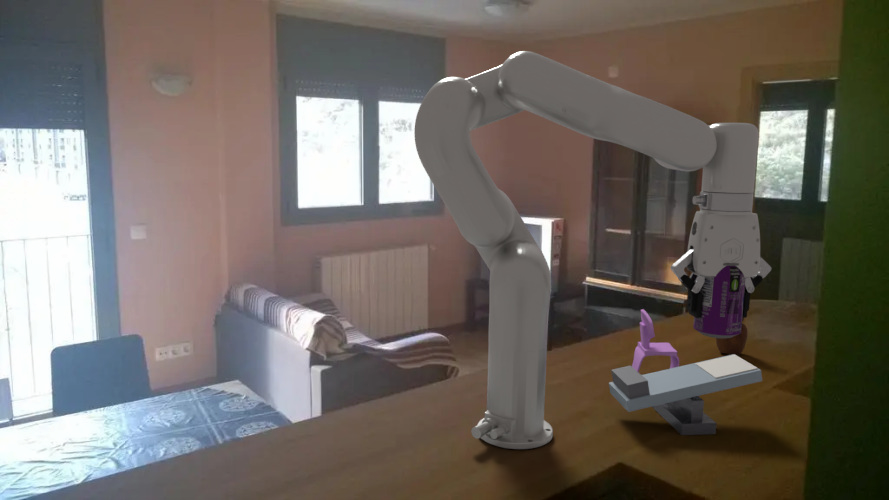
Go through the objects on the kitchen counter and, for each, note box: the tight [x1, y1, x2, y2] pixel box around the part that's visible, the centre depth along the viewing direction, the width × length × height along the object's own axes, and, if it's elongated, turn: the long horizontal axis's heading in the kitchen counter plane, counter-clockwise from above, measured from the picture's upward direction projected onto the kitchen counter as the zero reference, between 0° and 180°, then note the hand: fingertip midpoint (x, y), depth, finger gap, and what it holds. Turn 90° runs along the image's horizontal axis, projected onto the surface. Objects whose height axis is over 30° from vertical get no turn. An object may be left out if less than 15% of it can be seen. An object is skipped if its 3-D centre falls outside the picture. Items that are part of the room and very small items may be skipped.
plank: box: [608, 354, 763, 413], centre depth 122 cm, size 24×9×4 cm, turn 95°
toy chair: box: [631, 308, 680, 373], centre depth 142 cm, size 8×9×15 cm
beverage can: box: [693, 263, 746, 339], centre depth 110 cm, size 7×7×12 cm
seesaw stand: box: [651, 396, 717, 436], centre depth 123 cm, size 6×13×6 cm, turn 6°
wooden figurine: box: [715, 318, 749, 356], centre depth 162 cm, size 7×6×15 cm
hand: (717, 314), depth 110 cm, fingers closed on beverage can, 6 cm apart
